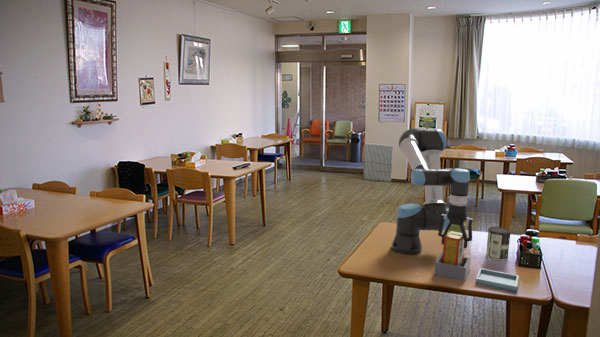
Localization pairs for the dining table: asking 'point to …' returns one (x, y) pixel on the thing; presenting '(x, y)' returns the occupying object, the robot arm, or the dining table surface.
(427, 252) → the dining table surface
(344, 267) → the dining table surface
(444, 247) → the baking soda box
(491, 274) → the tray
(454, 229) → the plant pot
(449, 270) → the box
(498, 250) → the coffee can
